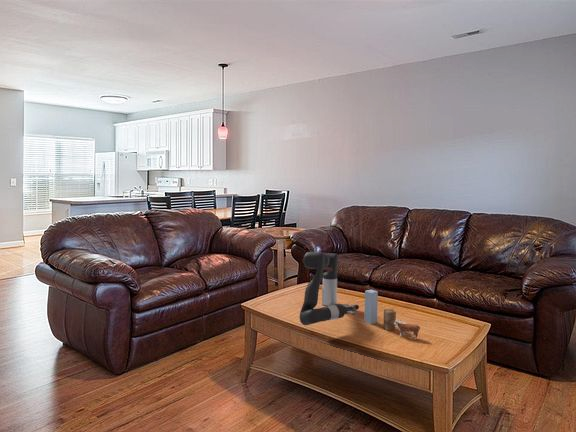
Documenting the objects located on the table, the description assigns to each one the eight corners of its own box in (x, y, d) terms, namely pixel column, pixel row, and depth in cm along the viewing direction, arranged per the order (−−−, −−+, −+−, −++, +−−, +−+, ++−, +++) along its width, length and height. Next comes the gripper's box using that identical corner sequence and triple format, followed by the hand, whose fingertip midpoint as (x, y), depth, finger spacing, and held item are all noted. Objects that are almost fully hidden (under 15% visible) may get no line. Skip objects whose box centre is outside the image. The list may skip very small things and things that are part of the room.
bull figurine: (394, 332, 221) (394, 317, 220) (420, 338, 214) (420, 322, 213) (391, 335, 217) (392, 320, 216) (418, 340, 210) (418, 325, 209)
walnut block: (386, 330, 224) (386, 312, 223) (383, 326, 229) (383, 309, 228) (395, 330, 225) (395, 312, 224) (392, 326, 230) (392, 309, 229)
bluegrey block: (370, 324, 233) (371, 292, 231) (364, 321, 237) (365, 290, 235) (376, 322, 236) (377, 291, 234) (370, 319, 240) (371, 289, 238)
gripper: (342, 308, 214) (366, 303, 224) (326, 301, 225) (349, 297, 235) (342, 322, 215) (366, 316, 224) (325, 315, 226) (349, 310, 235)
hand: (357, 306), depth 230 cm, fingers closed
